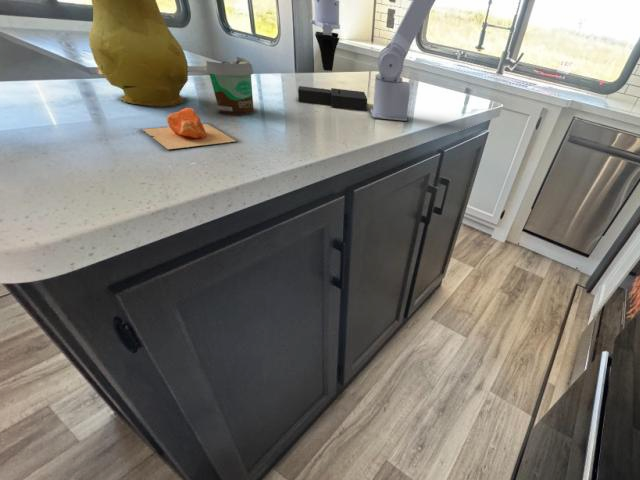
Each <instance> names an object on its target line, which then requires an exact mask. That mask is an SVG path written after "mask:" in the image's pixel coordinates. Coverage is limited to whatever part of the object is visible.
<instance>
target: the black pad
mask: <svg viewBox="0 0 640 480" xmlns="http://www.w3.org/2000/svg"><path fill="white" fill-rule="evenodd" d="M331 93H336V94H339V91H332V90H331V89H329V88H320V87H310V86H303V85H298V89H297V96H298V103H308V104H317V105H326V106H332V100H331Z"/></svg>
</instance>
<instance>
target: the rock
mask: <svg viewBox="0 0 640 480" xmlns="http://www.w3.org/2000/svg"><path fill="white" fill-rule="evenodd" d="M166 120H167V123H168V126H166V127H154V128H142V129H141V130H142V131H143V132H144V133H146V134H147V135H149V136H150V137H152V139H154V140H155V141H156V142H157V143H159V144H160V145H162V146H163V147H165V149H167V150H174V149H175V150H178V149H184V148H190V147H191V148H192V147H201V146H208V145H209V146H210V145H217V144H226V143H232V142H236V140H235V139H233V138H232V137H230V136H229V135H227V134H225V133H223V131H220V130H218V129H217V128H215V127H214V126H212V125H211V124H208V123H202V121H201V118H200V117H199V115H198V114H197V112H196V111H195V109H194V108H192V107H184V108H183V109H180V110H179V111H175V112H171V113H170V114H168V116H167V119H166Z"/></svg>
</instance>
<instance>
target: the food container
mask: <svg viewBox="0 0 640 480" xmlns="http://www.w3.org/2000/svg"><path fill="white" fill-rule="evenodd" d="M206 74H209V77H210V81H211V85H212V89H213V93H214V96H215V100H216V104H217V107H218V111H219V114H222V115H230V116H243V115H244V116H245V115H250V114H252V113H254V98H253V83H252V75H254V69H253V65H252V63H251V62H250V60H249V59H246V58H243V57H238V56H237V57H236V61H233V62H232V61H231V62H230V61H221V62H218V61H217V62H216V61H209V60H206Z"/></svg>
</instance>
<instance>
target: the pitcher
mask: <svg viewBox="0 0 640 480" xmlns="http://www.w3.org/2000/svg"><path fill="white" fill-rule="evenodd" d="M91 4H92V12H93V13H92V14H93V16H92V17H93V18H92V24H91V27H90V30H89V33H88V43H89V48H90V50H91V54H92V57H93V60H94V62H95V64H96V66H97V67H98V69H99V71H100V73H101V75H102V77H103V78H105V79H106V81H107V82H108V83H109V85H111V86H113V87H116V88H118V89H121V90H122V92H123V94H124V95H122V96H120V101H122V102H124V103H129V104H133V105H140V106H141V105H142V106H146V107H149V106H150V107H174V106H176V105H181V104H182V103H184V102H185V98H184V97H182V96H181V91H182V89H183V88H184V87H185V85H186V84H187V82H188V81H189V63H188V60H187V58H186V54H185V51H184V49H183V47H182V46H181V45H182V44H180V42H179V41H178V40H177V38H176V37H175V36H174V34H173V33H172V32H171V30H170V29H169V28H168V26H167V24H166V22H165V20H164V18H163V16H162V13H161V11H160V8H159V5H158V3H157V0H91Z"/></svg>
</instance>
